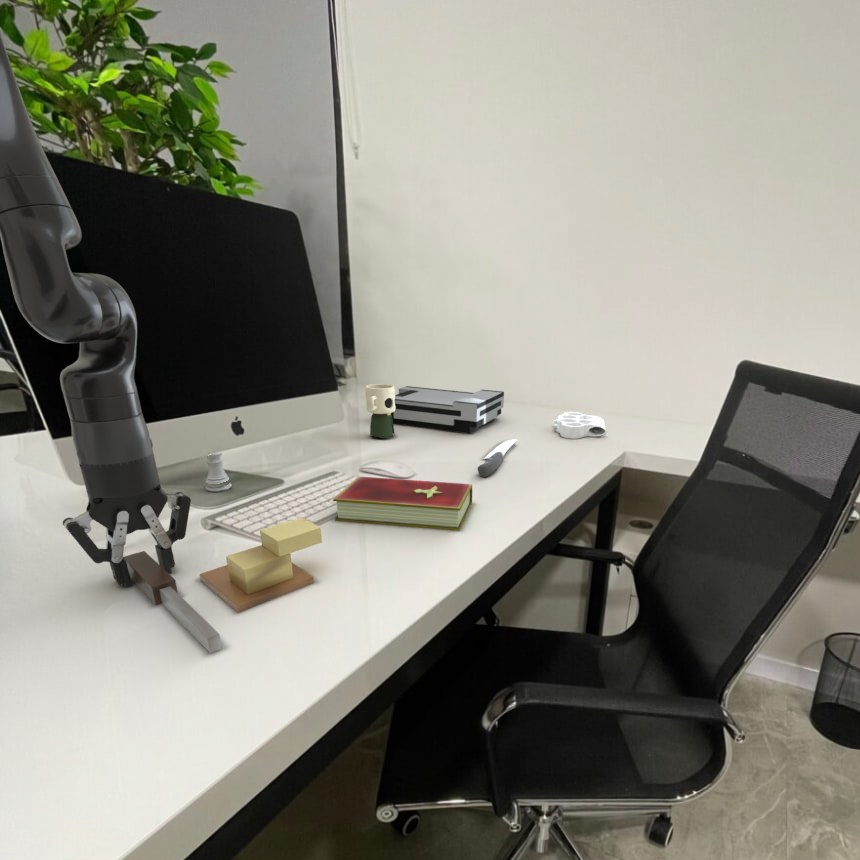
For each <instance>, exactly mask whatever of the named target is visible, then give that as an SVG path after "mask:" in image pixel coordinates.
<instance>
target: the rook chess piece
mask: <svg viewBox="0 0 860 860" xmlns="http://www.w3.org/2000/svg"><path fill="white" fill-rule="evenodd" d="M223 454H224V451H223V452H220V453H214V454H211V455H209V456H205V457H206V462H205V463H207V470H208V471H207V476H206V479H205V482H206V483H208V484H220V483H223V482H226V481H228V480H229V478H230V477H229V476H228V474H227V473H226V471H225V468H224V465H223V461H224V459H223V458H222V455H223ZM232 486H233V484H232V483H231V482H230V483H229V484H227V485H224V486H219V487H210V486H207V485H206V486H205V490H206V491H207V492H210V493H222V492H226V491H228V490H230V489H231V488H232Z"/></svg>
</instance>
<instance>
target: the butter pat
mask: <svg viewBox="0 0 860 860" xmlns="http://www.w3.org/2000/svg"><path fill="white" fill-rule="evenodd" d="M259 534H260V539H261V540H260V542H261V545H263V546H264V547H266V548H267V549H269V550H270V551H272V552H273V553H275V554H276V555H278V556H279V557H281V556H284V555H287V554H293V553H296V552H299V551H300V550H304V549H307V548H310V547H313V546H316V545H318V544H321V543H323V539H322V537H323V536H322V528H321V526H319V525H317V524H316V523H313V522H311V521H309V520H307V519H306V518H305V517H298V518H295V519H291V520H289V521H285V522H282V523H279V524H275V525H272V526H269V527H268V526H267V527H265V528H262V529H260V530H259Z"/></svg>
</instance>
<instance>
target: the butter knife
mask: <svg viewBox="0 0 860 860" xmlns="http://www.w3.org/2000/svg"><path fill="white" fill-rule="evenodd" d="M123 558H124V559H125V560H126V563H127V566H128V570H129V574H130V578H131V581H132V582H133V583H134V584H135V585H136V586H137V587H138V588H139V589H140V591H142V593H144V595H145V596H146V597H147V598H148V599H149V600H150V601H151V602H152V603H153V605H155V606H159V605H163V606H164V607H165V608H166V609H167V610H168V611H169V612H170V613H171V614H172V615H173V616H174V617H175V618H176V620H177V621H178V622H179V623H180V624H181V625H182V626H183V627H184V628H185V629H186V630H187V631H188V632H189V633H190V634H191V635H192V636H193V637H194V638H195V639H196V641H197V642H199V643H200V644H201V646H203V648H204V649H205V650H206V651H207V652H208V653H209V655H210V654H214V653H215V652H218V651H220V650H223V647H222V641H221V635H220V633H219V632H218V630H216V629H215V628H214V627H213V626H212V625H211V624H210V623H209V622H208V621H207V620H206V619H204V618H203V616H202V615H201V614H199V613H198V612H197V610H195V608H193V607H192V605H190V604H189V603H188V602H187V601H186V600H185V599H184V598H183V597H182V596H181V595H180V594H179V591H178V586H177V582H176V579H175V578H174V577H173V576H172V575H171V574H170V573H169V574H168V573H167V572H166V571H165V570H164V569H163V568H162V567H161V566H160V565H159V562H157V561H155V559H154V558H153V557H152V556H151V555H149V554H148V553H147V552H146V551H145V550H143V551H139V552H135V553H132V554H129V555H125V556H124V555H123Z"/></svg>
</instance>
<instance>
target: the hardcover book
mask: <svg viewBox="0 0 860 860" xmlns="http://www.w3.org/2000/svg"><path fill="white" fill-rule="evenodd" d="M332 502H335V503H336V511H337V516H336V517H335V518H334V522H343V523H344V522H345V523H357V524H358V523H359V524H368V525H369V524H370V525H371V524H372V525H381V526H395V527H409V528H421V529H433V530H446V531H458V532H459V531H461V529H462V527H463V525H464V523H465V521H466V518H467V516H468V514H469V512H470V510H471V508H472V506H473V484H472V483H461V482H444V481H429V480H416V479H400V478H389V477H388V478H387V477H373V476H357V477H356V478H355V479H354V480H353V481H351V482H350V483H349V484H348V485H347V486H346V487H345V488H344V489H343V490H342V491H340V492H339V493H338V494H337V495H336V496H334V497H333V499H332Z"/></svg>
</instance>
